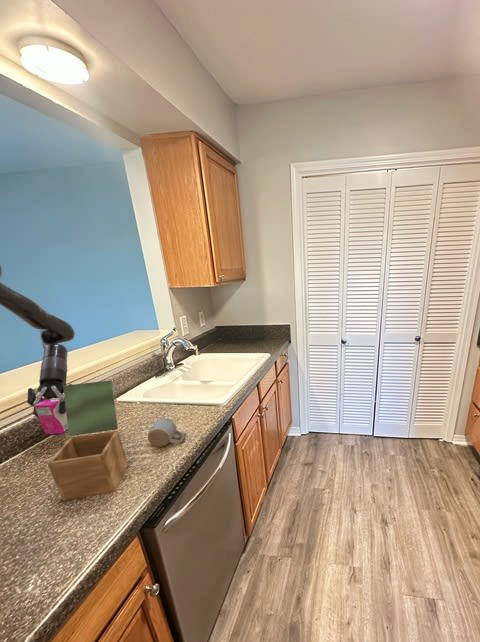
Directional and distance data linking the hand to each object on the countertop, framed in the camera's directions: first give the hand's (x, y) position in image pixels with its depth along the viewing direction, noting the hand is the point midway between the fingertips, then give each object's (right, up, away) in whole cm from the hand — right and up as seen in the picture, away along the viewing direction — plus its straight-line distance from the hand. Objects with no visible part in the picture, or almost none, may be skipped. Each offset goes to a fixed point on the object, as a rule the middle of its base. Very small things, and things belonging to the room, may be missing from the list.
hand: (49, 414), depth 109 cm
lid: (+25, +3, -17) cm, 30 cm away
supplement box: (0, -6, +4) cm, 8 cm away
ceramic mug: (+39, -10, +3) cm, 40 cm away
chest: (+28, -19, -18) cm, 38 cm away
